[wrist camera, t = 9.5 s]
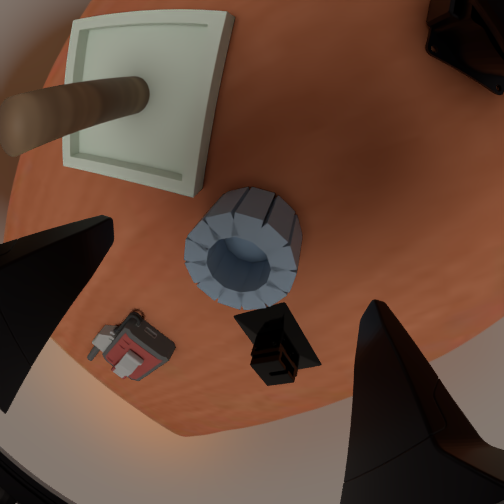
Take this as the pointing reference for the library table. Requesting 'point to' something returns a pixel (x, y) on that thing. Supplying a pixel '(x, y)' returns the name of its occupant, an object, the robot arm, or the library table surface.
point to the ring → (245, 249)
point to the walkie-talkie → (133, 347)
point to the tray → (151, 94)
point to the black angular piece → (276, 344)
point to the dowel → (67, 110)
